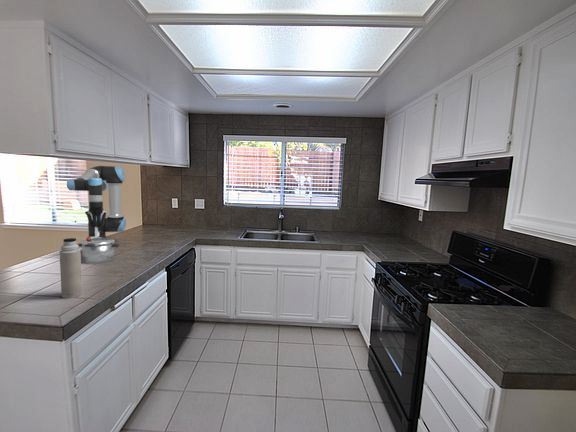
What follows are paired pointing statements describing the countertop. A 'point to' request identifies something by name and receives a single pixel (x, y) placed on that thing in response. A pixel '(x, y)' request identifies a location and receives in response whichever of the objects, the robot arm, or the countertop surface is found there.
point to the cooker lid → (97, 241)
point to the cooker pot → (98, 253)
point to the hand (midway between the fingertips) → (97, 236)
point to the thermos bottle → (70, 269)
